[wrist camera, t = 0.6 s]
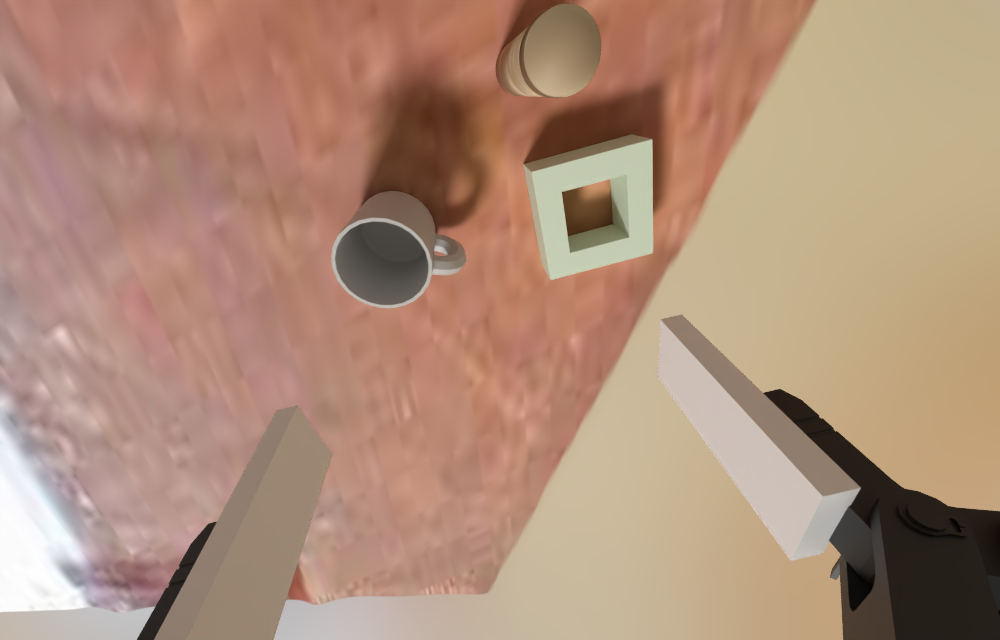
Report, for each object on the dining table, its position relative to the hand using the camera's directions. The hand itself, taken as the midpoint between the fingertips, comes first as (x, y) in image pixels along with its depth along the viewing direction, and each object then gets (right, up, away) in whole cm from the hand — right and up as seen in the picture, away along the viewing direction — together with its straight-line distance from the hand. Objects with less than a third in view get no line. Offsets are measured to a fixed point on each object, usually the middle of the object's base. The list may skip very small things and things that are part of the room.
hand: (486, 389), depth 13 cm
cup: (-8, +11, +22) cm, 26 cm away
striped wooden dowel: (+2, +23, +16) cm, 28 cm away
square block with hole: (+9, +14, +22) cm, 27 cm away
